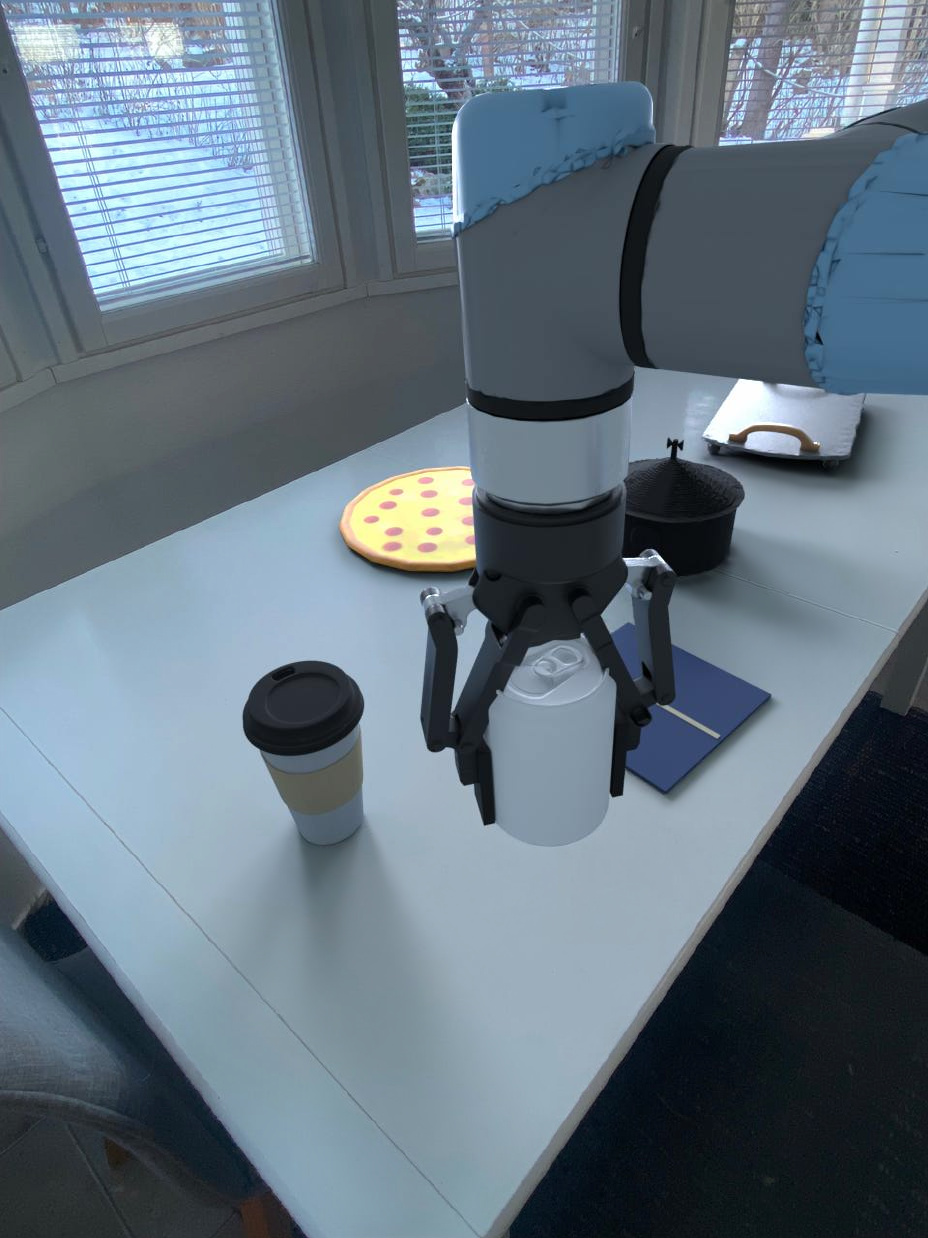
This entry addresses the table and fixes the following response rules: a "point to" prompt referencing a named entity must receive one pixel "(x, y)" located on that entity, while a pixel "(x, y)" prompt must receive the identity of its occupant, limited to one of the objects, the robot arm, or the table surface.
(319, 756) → the coffee cup
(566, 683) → the beverage can
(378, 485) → the pizza
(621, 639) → the napkin
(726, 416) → the serving tray
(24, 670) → the table surface
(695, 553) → the black round tub
